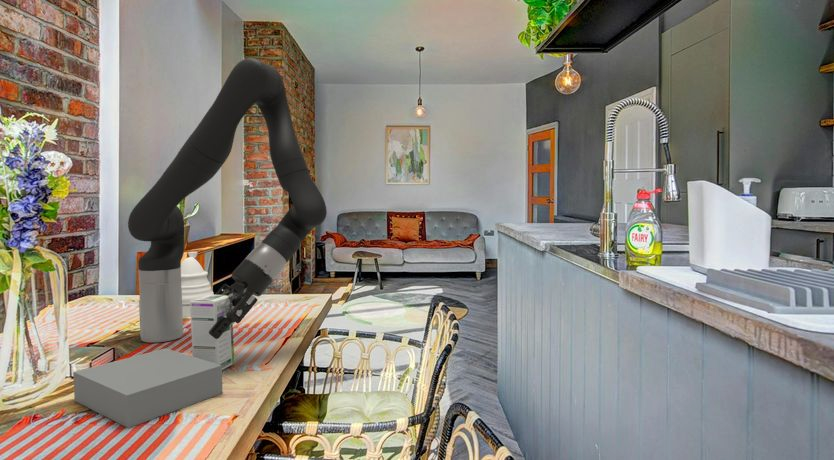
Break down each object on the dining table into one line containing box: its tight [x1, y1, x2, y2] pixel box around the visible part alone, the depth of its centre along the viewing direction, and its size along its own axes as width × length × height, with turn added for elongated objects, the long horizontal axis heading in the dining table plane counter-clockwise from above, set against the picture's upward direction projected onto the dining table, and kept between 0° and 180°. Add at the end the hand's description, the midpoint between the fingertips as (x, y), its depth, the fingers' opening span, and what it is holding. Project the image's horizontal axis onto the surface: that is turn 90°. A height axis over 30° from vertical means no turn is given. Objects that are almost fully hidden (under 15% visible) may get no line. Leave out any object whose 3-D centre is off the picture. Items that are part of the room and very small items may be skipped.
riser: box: [72, 347, 224, 429], centre depth 86 cm, size 18×16×5 cm
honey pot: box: [181, 251, 215, 318], centre depth 149 cm, size 13×13×18 cm
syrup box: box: [190, 294, 235, 371], centre depth 100 cm, size 6×6×14 cm
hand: (205, 332), depth 99 cm, fingers closed on syrup box, 7 cm apart
